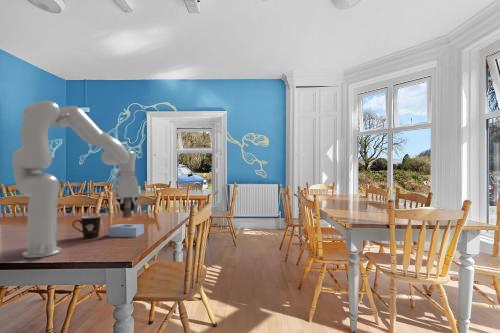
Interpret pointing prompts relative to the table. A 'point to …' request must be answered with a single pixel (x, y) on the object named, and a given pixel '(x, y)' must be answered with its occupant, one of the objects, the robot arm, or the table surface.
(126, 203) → the peg
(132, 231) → the socket board
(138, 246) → the table surface
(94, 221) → the coffee mug
